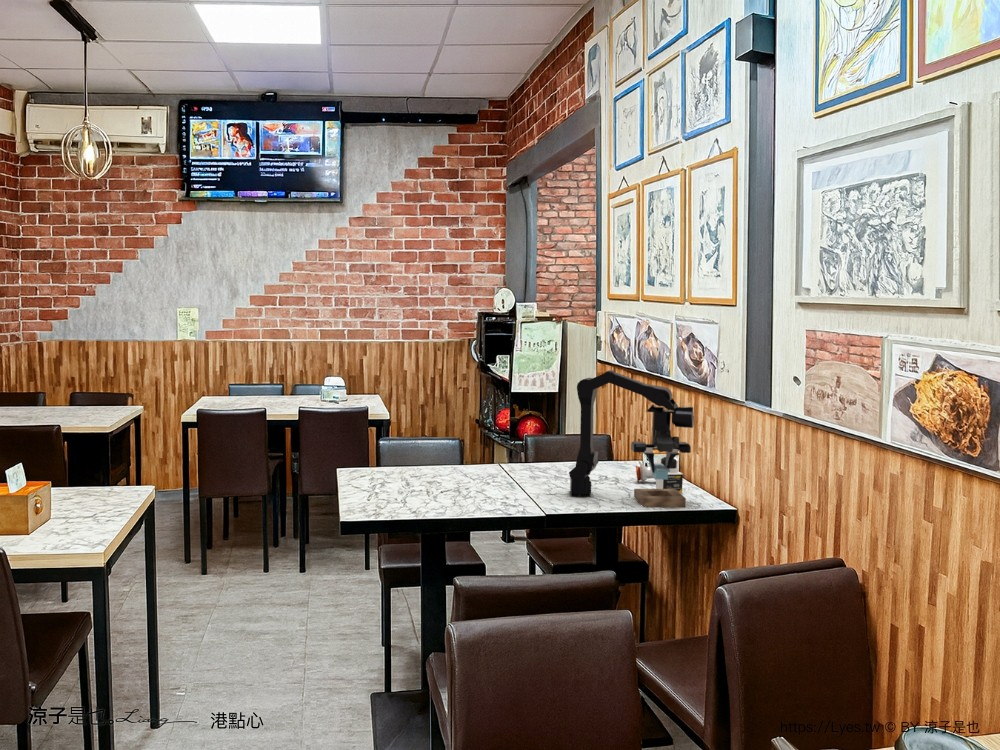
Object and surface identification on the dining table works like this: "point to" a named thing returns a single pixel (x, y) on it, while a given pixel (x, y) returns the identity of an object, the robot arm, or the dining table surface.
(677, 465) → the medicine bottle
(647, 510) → the dining table surface
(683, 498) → the brown square frame
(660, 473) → the block
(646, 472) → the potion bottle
